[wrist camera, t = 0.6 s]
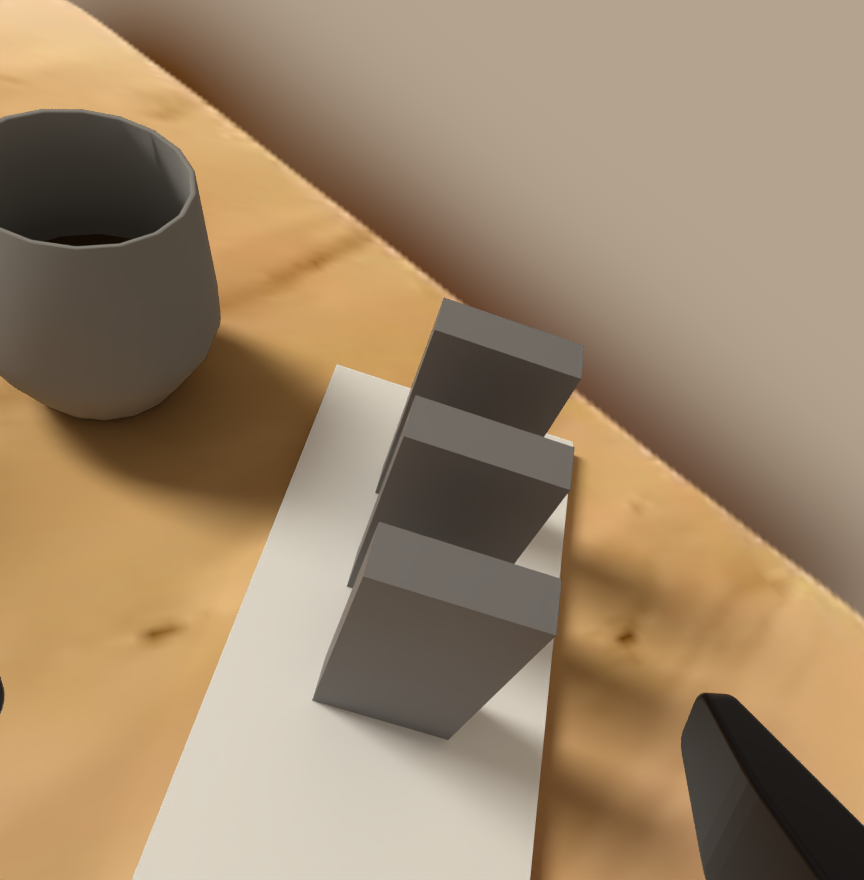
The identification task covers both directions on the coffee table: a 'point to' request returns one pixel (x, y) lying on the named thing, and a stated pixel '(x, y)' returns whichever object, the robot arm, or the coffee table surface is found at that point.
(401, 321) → the coffee table surface
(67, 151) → the cup
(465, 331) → the domino
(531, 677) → the domino board
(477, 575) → the domino
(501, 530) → the domino
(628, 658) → the coffee table surface
